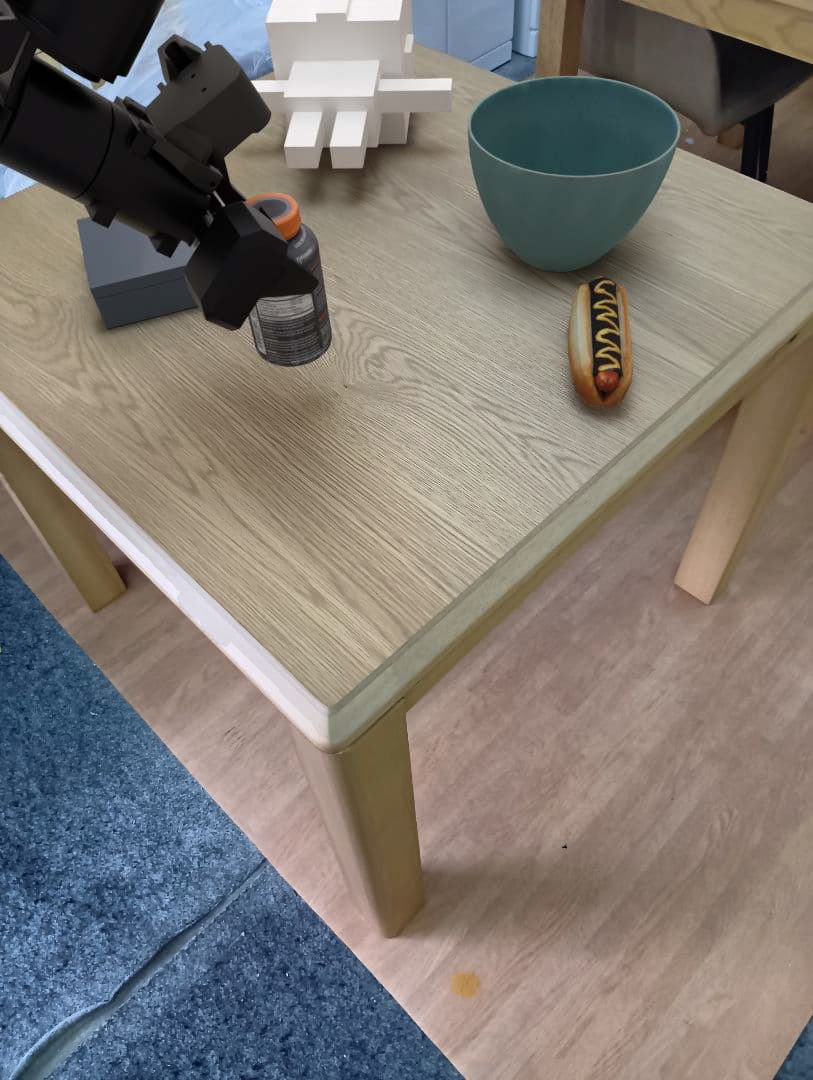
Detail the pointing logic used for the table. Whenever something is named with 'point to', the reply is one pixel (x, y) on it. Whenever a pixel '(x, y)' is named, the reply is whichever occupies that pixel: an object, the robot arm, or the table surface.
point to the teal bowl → (569, 164)
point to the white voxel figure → (345, 78)
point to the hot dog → (600, 343)
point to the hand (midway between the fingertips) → (298, 263)
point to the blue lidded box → (132, 274)
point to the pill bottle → (299, 320)
